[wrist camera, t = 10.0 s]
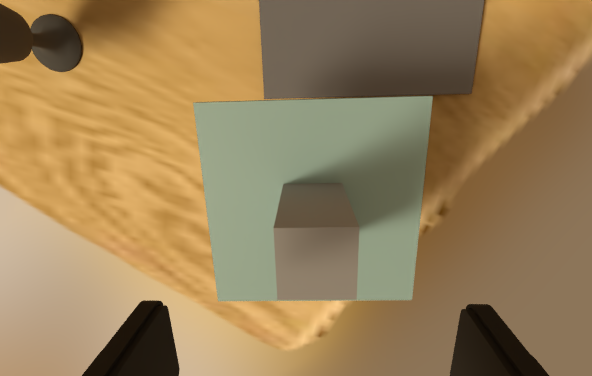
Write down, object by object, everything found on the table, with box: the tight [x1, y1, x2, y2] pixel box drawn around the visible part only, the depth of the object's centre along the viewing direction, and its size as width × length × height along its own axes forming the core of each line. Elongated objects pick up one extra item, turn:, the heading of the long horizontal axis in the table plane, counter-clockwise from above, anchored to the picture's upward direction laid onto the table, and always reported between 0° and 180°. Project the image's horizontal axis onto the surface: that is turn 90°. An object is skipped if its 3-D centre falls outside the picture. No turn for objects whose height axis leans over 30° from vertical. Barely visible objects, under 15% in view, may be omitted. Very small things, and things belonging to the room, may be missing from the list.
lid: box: [193, 96, 433, 301], centre depth 19 cm, size 15×15×8 cm
